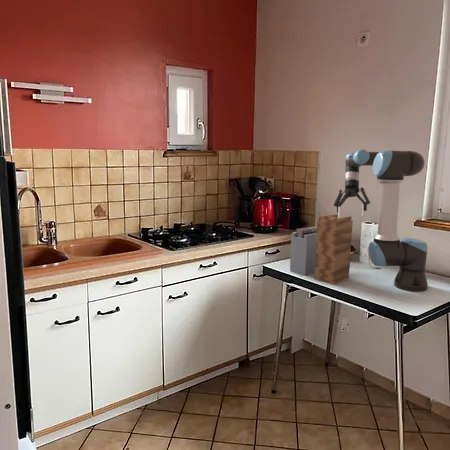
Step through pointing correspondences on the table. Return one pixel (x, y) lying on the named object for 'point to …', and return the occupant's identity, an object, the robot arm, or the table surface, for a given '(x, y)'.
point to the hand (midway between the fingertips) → (351, 217)
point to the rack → (303, 254)
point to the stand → (333, 248)
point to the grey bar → (305, 231)
